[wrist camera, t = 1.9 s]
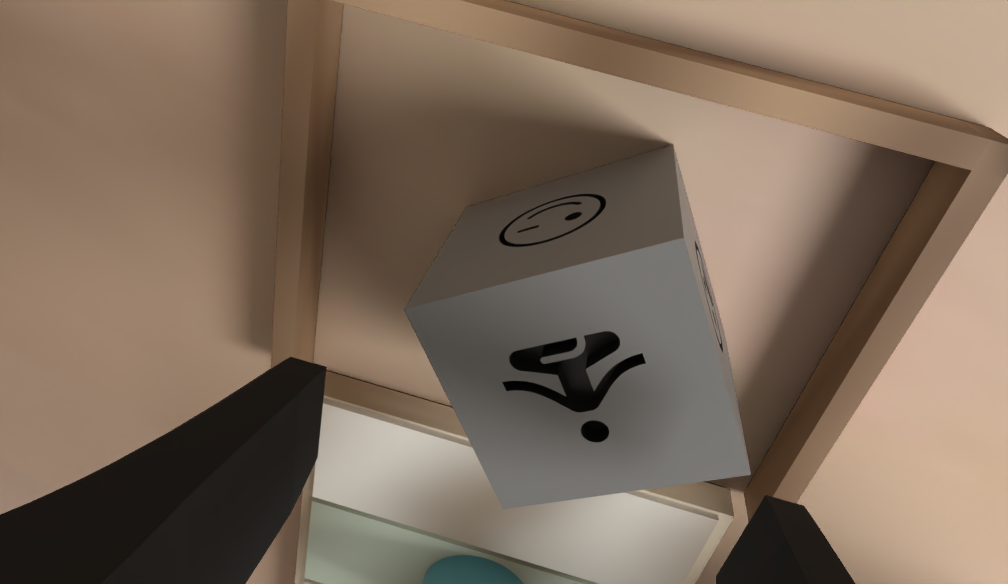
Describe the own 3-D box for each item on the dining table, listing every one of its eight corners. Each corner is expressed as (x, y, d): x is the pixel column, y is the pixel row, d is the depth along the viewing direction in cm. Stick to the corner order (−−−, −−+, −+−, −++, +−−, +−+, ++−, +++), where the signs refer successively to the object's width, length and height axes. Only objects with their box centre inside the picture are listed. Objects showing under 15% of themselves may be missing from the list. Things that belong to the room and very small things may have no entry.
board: (989, 127, 13) (1023, 148, 12) (575, 813, 29) (572, 851, 28) (320, -48, 14) (289, -45, 13) (269, 714, 30) (254, 747, 29)
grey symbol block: (673, 143, 15) (683, 237, 10) (724, 331, 17) (751, 474, 12) (467, 205, 16) (403, 309, 12) (536, 370, 18) (503, 509, 14)
